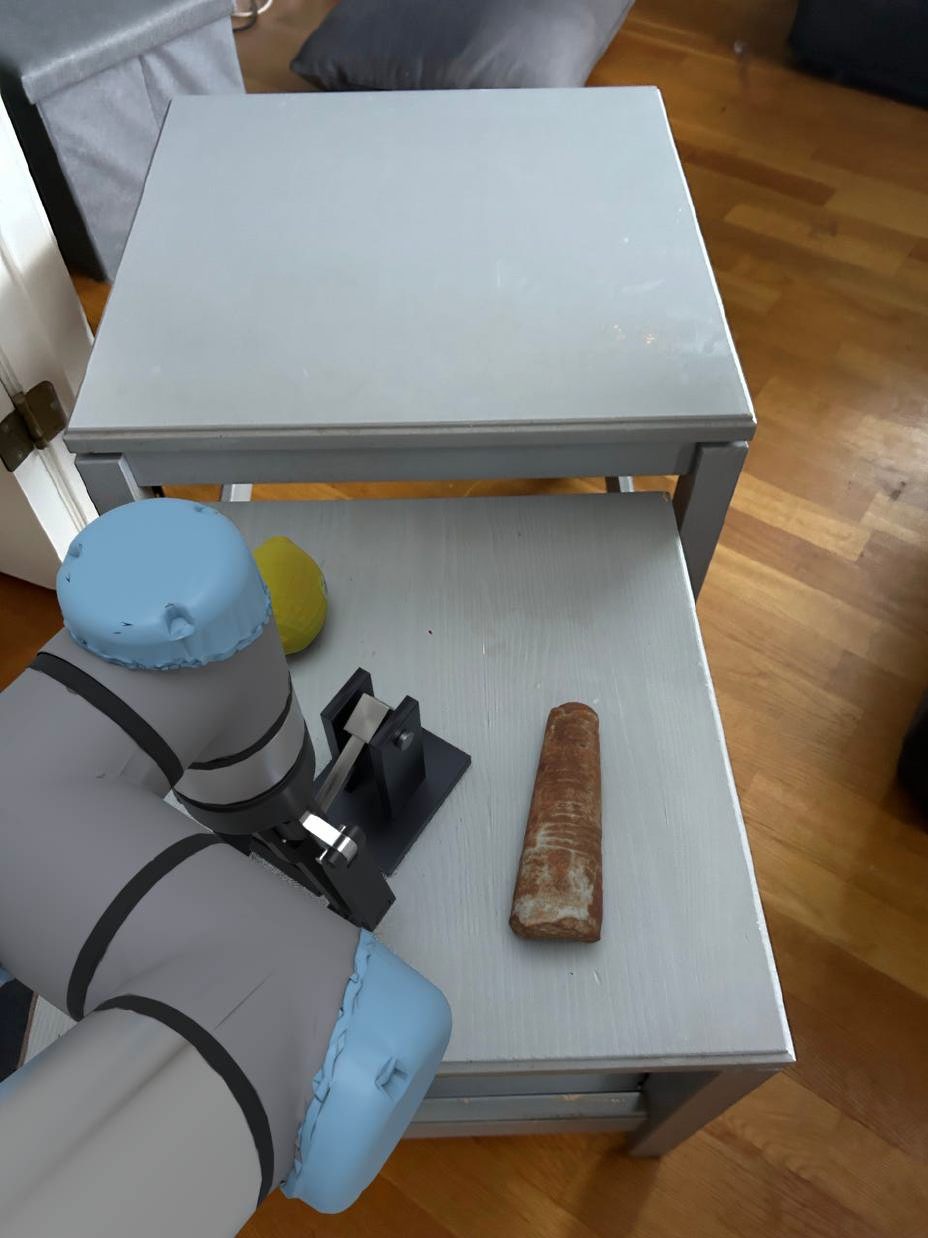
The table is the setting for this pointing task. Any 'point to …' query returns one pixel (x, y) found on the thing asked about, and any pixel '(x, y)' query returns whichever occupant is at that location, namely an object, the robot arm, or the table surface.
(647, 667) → the table surface
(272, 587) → the lemon
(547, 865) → the bread
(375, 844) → the bracket
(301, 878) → the lever
